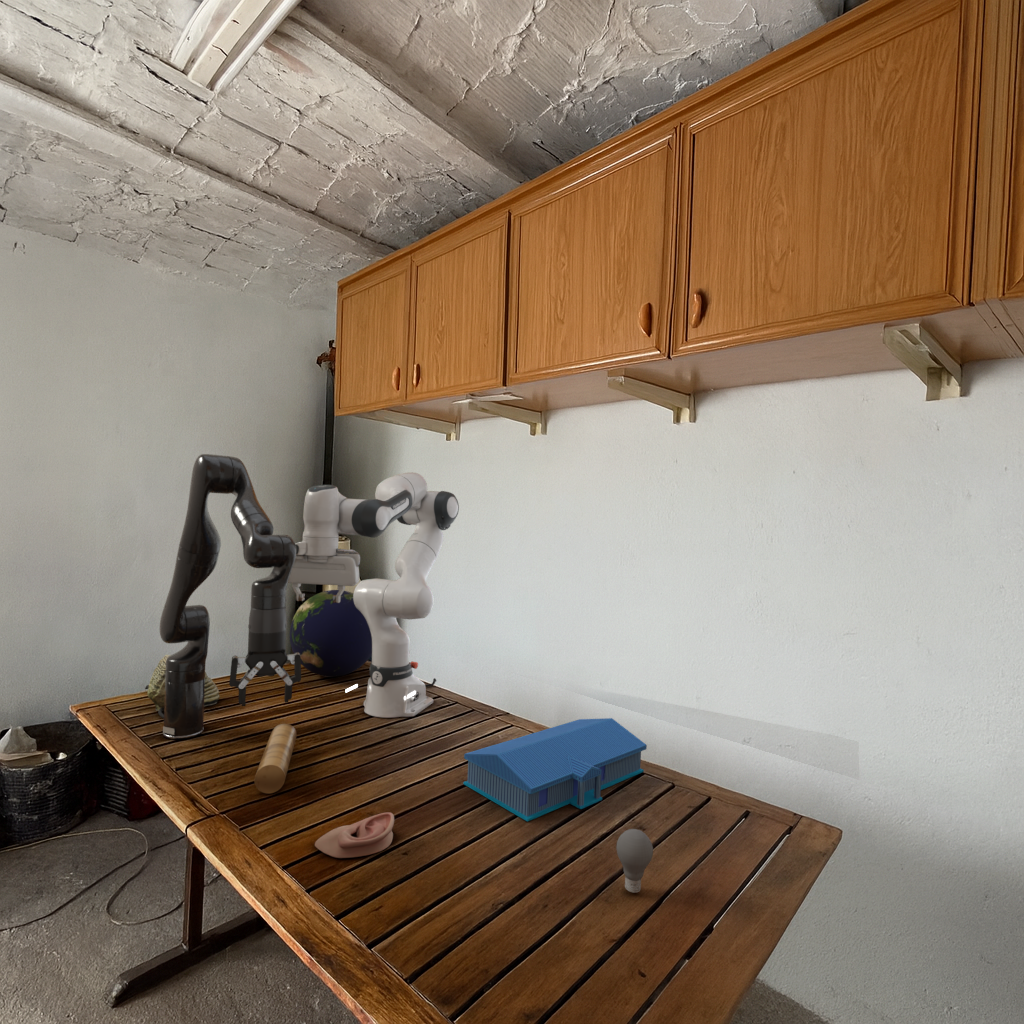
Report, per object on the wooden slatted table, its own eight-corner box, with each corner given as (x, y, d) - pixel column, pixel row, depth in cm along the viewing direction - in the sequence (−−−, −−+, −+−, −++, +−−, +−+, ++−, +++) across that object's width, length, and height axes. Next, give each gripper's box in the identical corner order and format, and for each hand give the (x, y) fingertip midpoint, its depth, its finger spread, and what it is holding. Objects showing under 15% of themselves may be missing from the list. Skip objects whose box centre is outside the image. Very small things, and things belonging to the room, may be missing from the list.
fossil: (144, 707, 182) (145, 655, 182) (212, 696, 194) (213, 647, 194) (151, 716, 175) (153, 662, 175) (221, 703, 188) (223, 653, 188)
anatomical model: (306, 830, 112) (337, 801, 124) (305, 853, 112) (336, 821, 124) (376, 842, 110) (401, 811, 121) (375, 865, 110) (400, 831, 121)
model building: (538, 828, 124) (540, 777, 124) (462, 783, 143) (463, 739, 142) (655, 776, 151) (657, 734, 151) (578, 743, 169) (579, 706, 169)
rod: (284, 792, 135) (285, 764, 135) (253, 794, 134) (254, 765, 133) (296, 747, 159) (297, 723, 159) (270, 748, 158) (271, 724, 157)
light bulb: (610, 879, 108) (613, 822, 108) (644, 879, 109) (647, 822, 109) (619, 902, 102) (622, 840, 102) (655, 901, 103) (658, 840, 103)
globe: (268, 679, 214) (272, 591, 213) (326, 660, 242) (329, 582, 241) (341, 693, 203) (345, 600, 202) (393, 671, 230) (396, 589, 230)
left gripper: (301, 623, 141) (298, 695, 142) (231, 625, 136) (229, 701, 136) (304, 630, 135) (301, 706, 135) (230, 633, 129) (228, 712, 129)
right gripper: (363, 548, 165) (361, 601, 165) (286, 545, 166) (284, 597, 166) (356, 550, 159) (354, 605, 159) (276, 547, 160) (274, 601, 160)
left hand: (265, 703), depth 135 cm, fingers open, 8 cm apart
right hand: (318, 601), depth 163 cm, fingers open, 8 cm apart
